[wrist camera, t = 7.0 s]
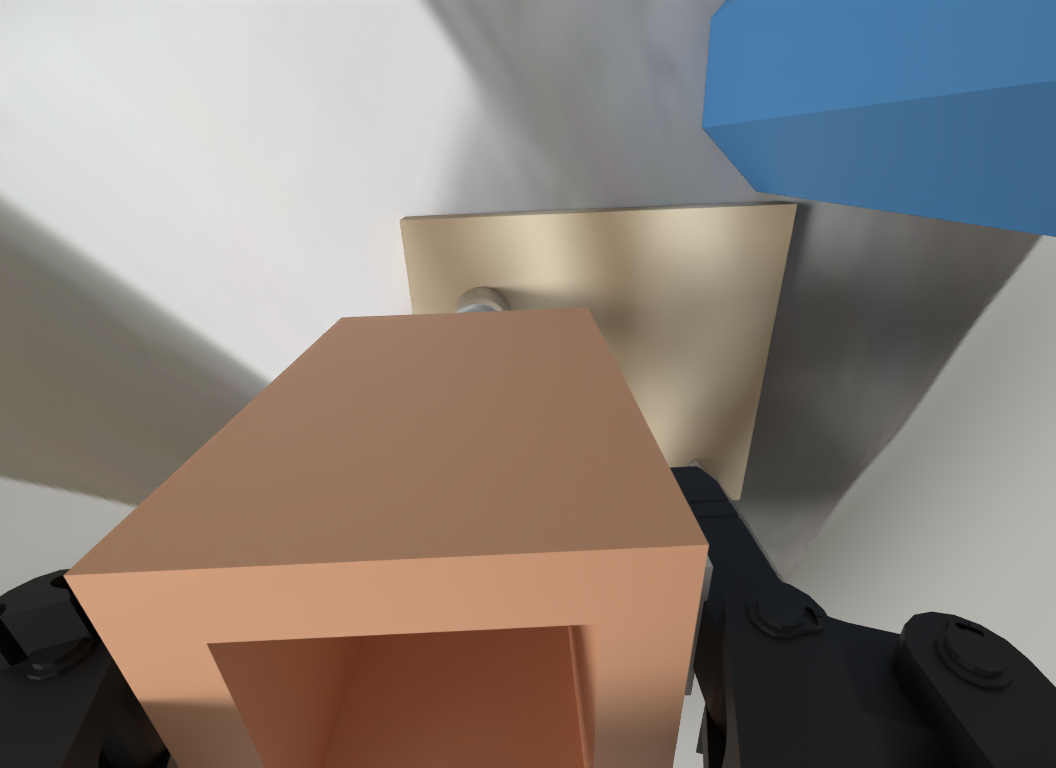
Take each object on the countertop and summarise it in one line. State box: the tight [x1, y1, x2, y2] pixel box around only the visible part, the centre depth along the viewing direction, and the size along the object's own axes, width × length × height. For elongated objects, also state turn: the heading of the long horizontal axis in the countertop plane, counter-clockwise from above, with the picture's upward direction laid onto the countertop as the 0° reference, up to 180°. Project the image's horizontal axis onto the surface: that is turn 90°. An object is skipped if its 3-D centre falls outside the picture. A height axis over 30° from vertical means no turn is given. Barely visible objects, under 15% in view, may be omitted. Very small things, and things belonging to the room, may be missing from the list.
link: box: [63, 307, 709, 768], centre depth 11 cm, size 14×6×8 cm, turn 2°
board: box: [400, 201, 797, 500], centre depth 23 cm, size 16×15×1 cm
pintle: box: [454, 287, 510, 313], centre depth 19 cm, size 2×2×5 cm
